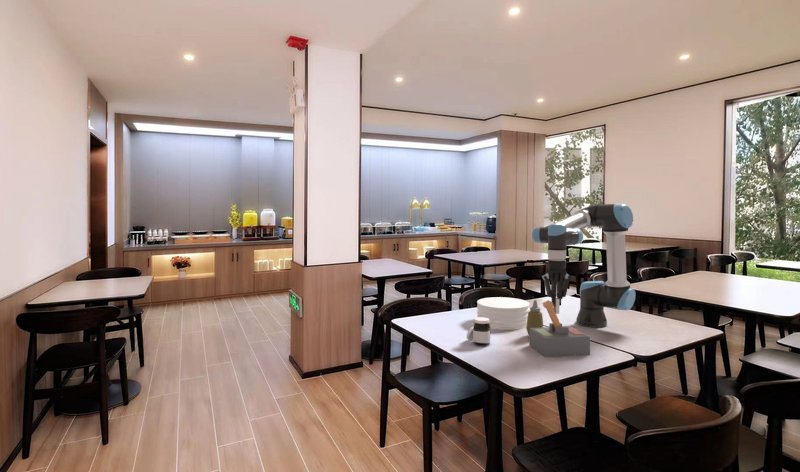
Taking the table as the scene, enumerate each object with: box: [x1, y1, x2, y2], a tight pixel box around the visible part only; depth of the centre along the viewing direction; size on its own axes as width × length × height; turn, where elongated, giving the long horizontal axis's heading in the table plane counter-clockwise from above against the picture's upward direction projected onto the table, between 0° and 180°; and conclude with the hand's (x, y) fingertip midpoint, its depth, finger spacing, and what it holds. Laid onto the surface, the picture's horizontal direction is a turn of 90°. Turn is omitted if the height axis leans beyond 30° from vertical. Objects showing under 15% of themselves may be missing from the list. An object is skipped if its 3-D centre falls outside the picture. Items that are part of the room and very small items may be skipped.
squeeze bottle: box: [525, 299, 544, 336], centre depth 206 cm, size 8×8×18 cm
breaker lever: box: [542, 299, 562, 327], centre depth 186 cm, size 3×4×14 cm
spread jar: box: [466, 316, 491, 347], centre depth 198 cm, size 12×11×12 cm
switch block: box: [528, 322, 591, 358], centre depth 187 cm, size 20×16×11 cm
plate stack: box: [476, 296, 531, 331], centre depth 233 cm, size 28×28×12 cm
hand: (556, 313), depth 185 cm, fingers closed
